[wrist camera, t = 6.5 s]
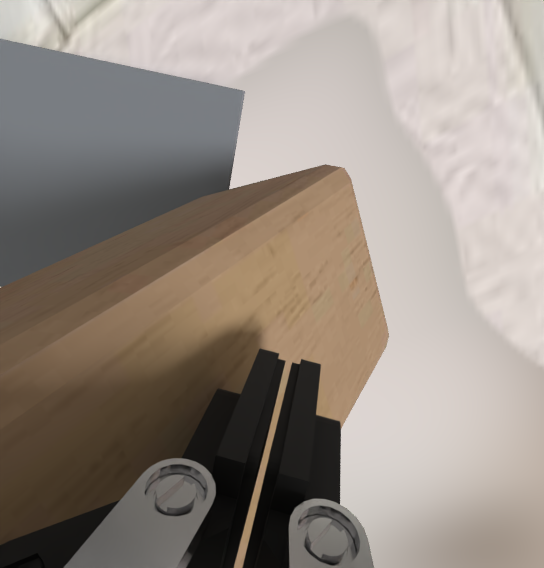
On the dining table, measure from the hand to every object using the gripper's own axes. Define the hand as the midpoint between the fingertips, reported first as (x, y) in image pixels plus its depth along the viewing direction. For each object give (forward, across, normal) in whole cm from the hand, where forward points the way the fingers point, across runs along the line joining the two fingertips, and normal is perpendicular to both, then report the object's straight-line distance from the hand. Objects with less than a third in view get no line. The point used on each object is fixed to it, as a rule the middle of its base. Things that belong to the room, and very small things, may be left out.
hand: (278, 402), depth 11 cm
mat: (+15, +16, 0) cm, 22 cm away
